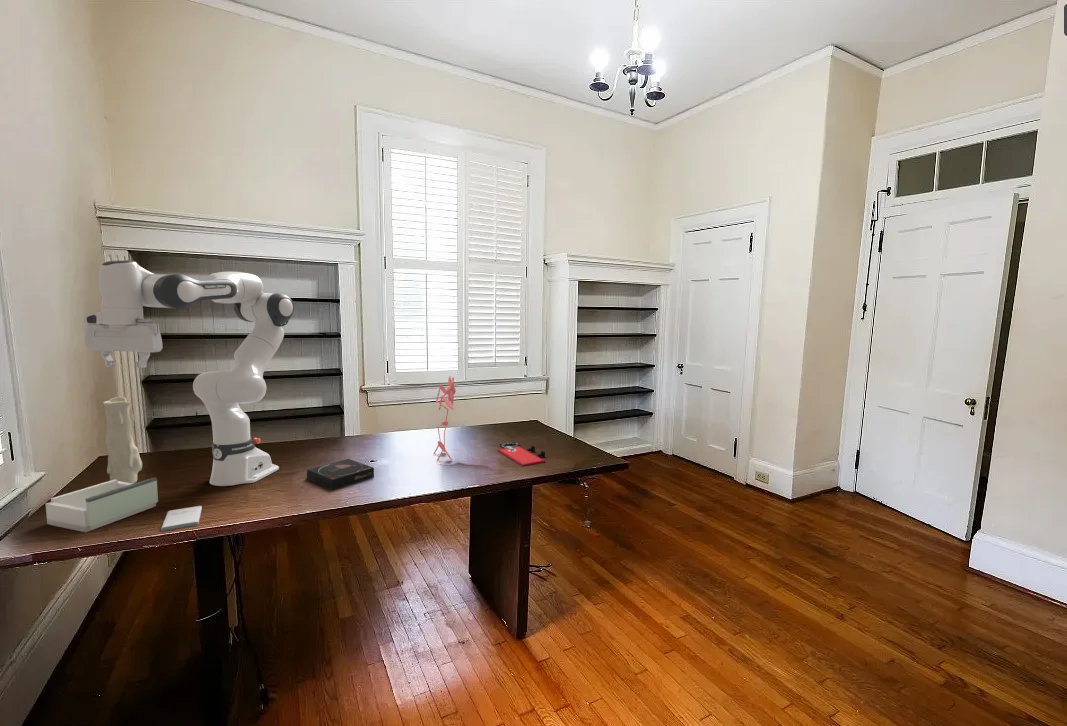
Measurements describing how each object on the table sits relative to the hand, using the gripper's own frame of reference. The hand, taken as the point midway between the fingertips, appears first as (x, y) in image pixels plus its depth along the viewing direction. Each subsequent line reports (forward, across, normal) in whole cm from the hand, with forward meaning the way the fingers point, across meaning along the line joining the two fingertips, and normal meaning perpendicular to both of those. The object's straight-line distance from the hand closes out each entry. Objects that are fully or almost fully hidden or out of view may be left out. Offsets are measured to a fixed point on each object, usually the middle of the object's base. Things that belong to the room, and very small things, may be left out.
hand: (126, 367), depth 130 cm
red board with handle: (+44, -106, -78) cm, 138 cm away
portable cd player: (+44, -43, -38) cm, 73 cm away
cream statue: (+44, +25, -21) cm, 55 cm away
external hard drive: (+45, -15, +1) cm, 47 cm away
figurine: (+44, -77, -69) cm, 112 cm away
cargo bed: (+44, +9, +1) cm, 45 cm away
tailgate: (+42, 0, +3) cm, 42 cm away
